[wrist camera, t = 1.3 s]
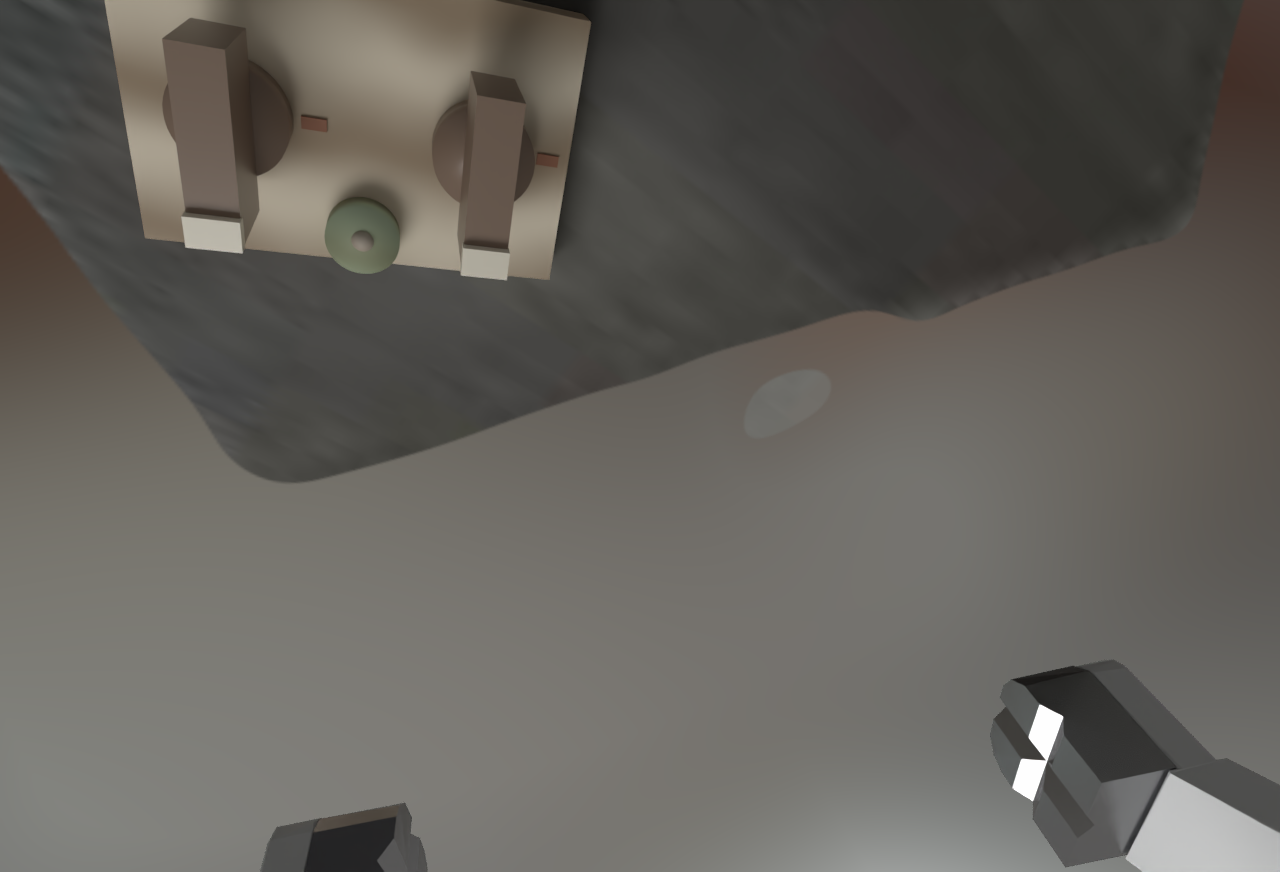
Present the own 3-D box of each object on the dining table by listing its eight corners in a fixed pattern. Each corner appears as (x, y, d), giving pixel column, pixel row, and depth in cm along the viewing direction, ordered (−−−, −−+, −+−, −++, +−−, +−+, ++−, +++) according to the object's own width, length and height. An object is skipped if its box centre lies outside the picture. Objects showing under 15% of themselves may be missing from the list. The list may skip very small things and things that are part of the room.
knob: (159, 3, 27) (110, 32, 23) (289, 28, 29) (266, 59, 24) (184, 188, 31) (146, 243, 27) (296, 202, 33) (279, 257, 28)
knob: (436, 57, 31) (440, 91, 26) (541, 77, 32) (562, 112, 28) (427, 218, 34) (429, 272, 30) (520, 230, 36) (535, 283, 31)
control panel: (107, -94, 27) (73, -87, 24) (582, 13, 33) (598, 28, 30) (157, 222, 34) (135, 255, 31) (543, 265, 40) (553, 295, 37)
